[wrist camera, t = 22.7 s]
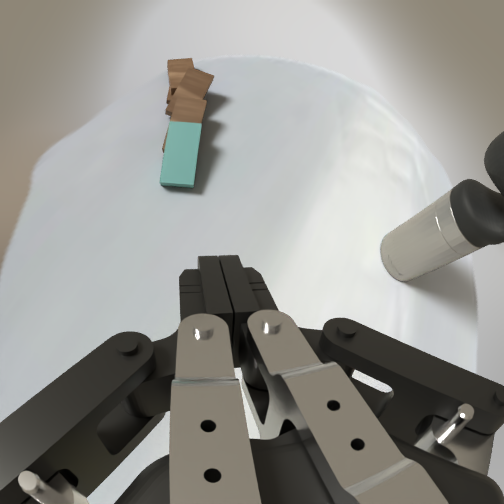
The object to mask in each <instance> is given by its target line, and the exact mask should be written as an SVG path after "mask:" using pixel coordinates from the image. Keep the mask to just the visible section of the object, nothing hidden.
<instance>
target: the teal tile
mask: <svg viewBox="0 0 504 504" xmlns="http://www.w3.org/2000/svg"><path fill="white" fill-rule="evenodd" d="M201 128H202V124H201V123H189V122H174V121H170V123H169V128H168V134H167V139H166V145H165V151H164V157H163V163H162V169H161V176H160V184H161V185H163V186H177V187H189V188H194V181H195V172H196V164H197V157H198V149H199V142H200V135H201Z"/></svg>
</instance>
